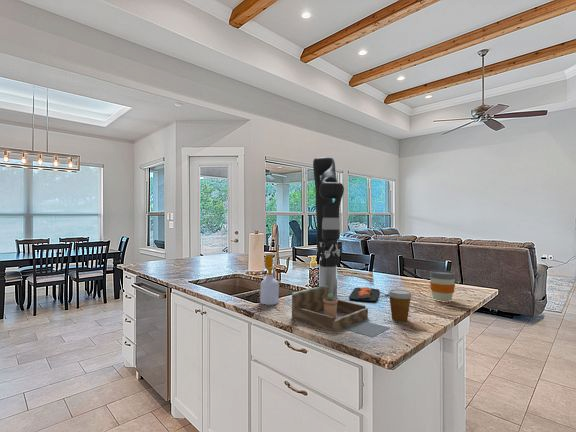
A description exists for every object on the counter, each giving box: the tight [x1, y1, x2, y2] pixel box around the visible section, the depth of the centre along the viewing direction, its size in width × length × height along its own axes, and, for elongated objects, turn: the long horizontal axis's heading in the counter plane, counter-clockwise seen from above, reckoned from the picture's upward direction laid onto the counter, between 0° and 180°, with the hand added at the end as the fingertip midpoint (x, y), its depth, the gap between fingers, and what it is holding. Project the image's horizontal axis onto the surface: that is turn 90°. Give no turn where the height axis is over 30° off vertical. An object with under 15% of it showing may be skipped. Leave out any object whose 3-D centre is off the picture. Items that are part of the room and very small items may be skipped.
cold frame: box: [291, 285, 369, 333], centre depth 137 cm, size 24×23×11 cm
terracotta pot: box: [323, 293, 339, 319], centre depth 137 cm, size 6×6×11 cm
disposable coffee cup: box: [387, 288, 412, 323], centre depth 137 cm, size 10×10×12 cm
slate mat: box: [344, 320, 391, 338], centre depth 125 cm, size 14×12×1 cm
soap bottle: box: [259, 253, 280, 306], centre depth 160 cm, size 9×9×25 cm
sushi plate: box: [348, 286, 389, 302], centre depth 175 cm, size 29×30×4 cm
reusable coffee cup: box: [429, 269, 456, 301], centre depth 170 cm, size 12×13×15 cm
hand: (330, 266), depth 137 cm, fingers open, 8 cm apart
